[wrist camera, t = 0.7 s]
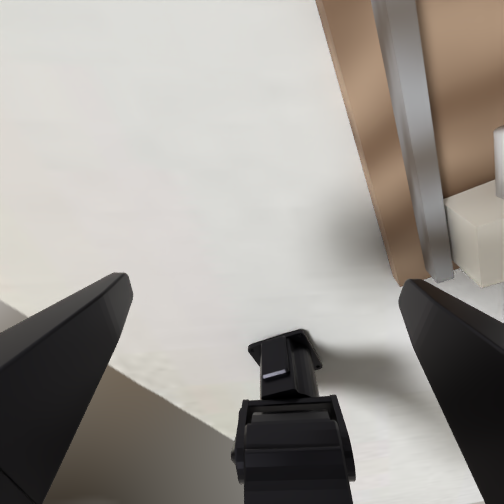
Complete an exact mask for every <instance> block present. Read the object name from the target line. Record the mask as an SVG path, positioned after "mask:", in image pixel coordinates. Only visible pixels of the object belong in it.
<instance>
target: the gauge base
mask: <svg viewBox="0 0 504 504" xmlns="http://www.w3.org/2000/svg"><path fill="white" fill-rule="evenodd" d="M315 1H316V4H317V8H318V11H319V15H320V18H321V22H322V26H323V29H324V33H325V36H326V40H327V43H328V47H329V50H330V54H331V57H332V61H333V65H334V68H335V72H336V75H337V79H338V82H339V86H340V89H341V93H342V96H343V100H344V104H345V107H346V111H347V114H348V118H349V121H350V125H351V128H352V132H353V135H354V139H355V143H356V146H357V150H358V153H359V157H360V160H361V164H362V167H363V171H364V174H365V178H366V182H367V185H368V189H369V192H370V196H371V199H372V203H373V206H374V210H375V213H376V217H377V221H378V224H379V228H380V231H381V235H382V238H383V242H384V245H385V249H386V252H387V256H388V260H389V263H390V267H391V270H392V274H393V277H394V278H395V280H396V281H397V283H398V284H399V286H400V287H402V286H403V285H404V283H405V281H406V280H407V279H422V280H424V279H427V278H430V277H432V278H433V279H434V280H435V281H436V282H437V283H440V282H443V281H446V280H450V279H453V278H454V273H453V270H455V269H458V268H460V267H459V266H458V265H457V264H456V263H455V262H454V261H453V260H452V259H451V252H450V244H449V237H448V230H447V223H446V216H445V209H444V202H443V199H445V198H448V197H451V196H453V195H456V194H458V193H461V192H464V191H466V190H469V189H472V188H474V187H477V186H479V185H482V184H485V183H487V182H490V181H492V180H495V160H494V133H493V132H494V130H495V129H496V128H498V127H500V126H502V125H504V0H315Z"/></svg>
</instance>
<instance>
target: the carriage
mask: <svg viewBox="0 0 504 504" xmlns="http://www.w3.org/2000/svg"><path fill="white" fill-rule="evenodd" d="M493 133H494V160H495V180H492V181H490V182H487V183H485V184H482V185H479V186H477V187H474V188H472V189H469V190H466V191H464V192H461V193H458V194H456V195H453V196H451V197H448V198H445V199H443V202H444V209H445V216H446V223H447V230H448V237H449V244H450V252H451V259H452V260H453V261H454V262H455V263H456V264H457V265H458V266H459V267H460V268H461V269H462V270H463V271H464V272H465V273H466V274H467V275H468V276H469V277H470V278H471V279H472V280H473V281H474V282H475V283H476V284H478V285H479V286H480V287H481V288H484V287H488V286H491V285H494V284H498V283H501V282H504V125H502V126H500V127H498V128H496V129H495V130H494V132H493Z"/></svg>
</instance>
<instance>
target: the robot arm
mask: <svg viewBox="0 0 504 504" xmlns="http://www.w3.org/2000/svg"><path fill="white" fill-rule="evenodd" d="M132 300H133V291H132V287H131V284H130V280H129V277H128V275H127V274H126V273H112V274H110V275H108V276H106V277H104V278H102V279H100V280H98V281H97V282H95V283H93V284H91V285H89V286H87V287H85V288H83V289H82V290H80V291H78V292H76V293H74V294H72V295H70V296H68V297H67V298H65V299H63V300H61V301H59V302H57V303H55V304H53V305H52V306H50V307H48V308H46V309H44V310H42V311H40V312H38V313H37V314H35V315H33V316H31V317H29V318H27V319H25V320H23V321H22V322H20V323H18V324H16V325H14V326H12V327H10V328H8V329H7V330H5V331H3V332H1V333H0V504H43V501H44V499H45V497H46V495H47V492H48V491H49V489H50V487H51V484H52V482H53V480H54V478H55V476H56V474H57V471H58V469H59V467H60V465H61V463H62V461H63V459H64V457H65V454H66V452H67V450H68V448H69V446H70V444H71V442H72V440H73V437H74V435H75V433H76V431H77V429H78V427H79V425H80V422H81V420H82V418H83V416H84V414H85V412H86V410H87V407H88V405H89V403H90V401H91V399H92V397H93V395H94V392H95V390H96V388H97V386H98V384H99V382H100V380H101V378H102V375H103V373H104V371H105V369H106V367H107V365H108V363H109V360H110V358H111V356H112V354H113V352H114V350H115V348H116V345H117V343H118V341H119V338H120V335H121V333H122V330H123V327H124V324H125V321H126V318H127V315H128V312H129V309H130V306H131V303H132ZM399 307H400V310H401V313H402V316H403V319H404V322H405V325H406V328H407V331H408V334H409V337H410V340H411V343H412V346H413V348H414V351H415V353H416V355H417V357H418V359H419V362H420V364H421V366H422V368H423V370H424V372H425V375H426V377H427V379H428V381H429V383H430V385H431V387H432V390H433V392H434V394H435V396H436V398H437V400H438V402H439V405H440V407H441V409H442V411H443V413H444V415H445V418H446V420H447V422H448V424H449V426H450V428H451V430H452V433H453V435H454V437H455V439H456V441H457V443H458V446H459V448H460V450H461V452H462V454H463V456H464V458H465V461H466V463H467V465H468V467H469V469H470V471H471V473H472V476H473V478H474V480H475V482H476V484H477V486H478V489H479V491H480V493H481V495H482V497H483V499H484V501H485V504H504V323H502V322H500V321H498V320H496V319H494V318H492V317H491V316H489V315H487V314H485V313H483V312H481V311H479V310H478V309H476V308H474V307H472V306H470V305H468V304H466V303H465V302H463V301H461V300H459V299H457V298H455V297H453V296H452V295H450V294H448V293H446V292H444V291H442V290H440V289H439V288H437V287H435V286H433V285H431V284H429V283H428V282H426V281H424V280H422V279H407V280H406V281H405V283H404V285H403V288H402V291H401V294H400V297H399ZM300 334H301V335H300ZM248 352H249V353H250V354H251V356H252V357H253V358H254V360H255V361H256V362H257V364H258V365H259V366H260V400H250V401H249V400H243V403H242V408H240V411H239V420H238V427H237V434H236V437H235V441H234V444H233V448H232V451H231V460H232V461H233V463H234V464H235V465H236V469H237V475H238V481H239V483H240V484H244V504H353V501H352V495H351V490H350V484H349V482H350V481H355V480H356V474H355V465H354V458H353V453H352V448H351V443H350V439H349V435H348V432H347V428H346V425H345V422H344V419H343V415H342V412H341V409H340V406H339V403H338V399H337V396H336V395H330V396H322V397H319V393H318V387H317V382H316V376H315V371H314V370H318V369H321V368H322V362H321V361H320V359H319V357H318V355H317V353H316V352H315V350H314V348H313V346H312V345H311V343H310V341H309V339H308V337H307V336H306V334H305V332H304V331H303V330H297V331H294V332H290V333H287V334H284V335H281V336H277V337H274V338H271V339H268V340H264V341H261V342H258V343H255V344H251V345H249V346H248Z"/></svg>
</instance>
